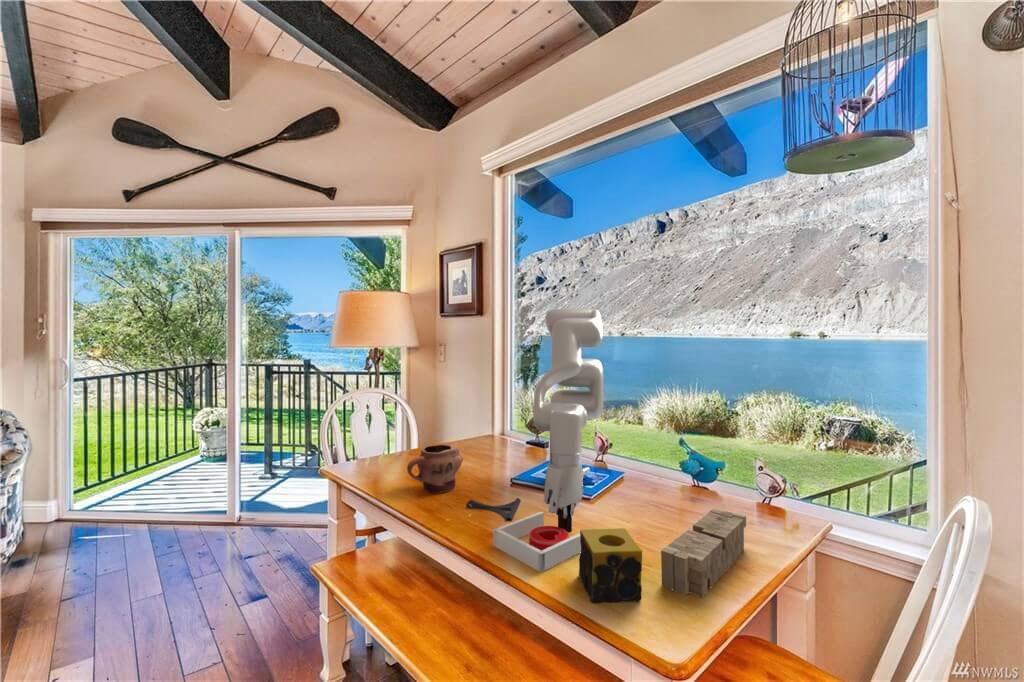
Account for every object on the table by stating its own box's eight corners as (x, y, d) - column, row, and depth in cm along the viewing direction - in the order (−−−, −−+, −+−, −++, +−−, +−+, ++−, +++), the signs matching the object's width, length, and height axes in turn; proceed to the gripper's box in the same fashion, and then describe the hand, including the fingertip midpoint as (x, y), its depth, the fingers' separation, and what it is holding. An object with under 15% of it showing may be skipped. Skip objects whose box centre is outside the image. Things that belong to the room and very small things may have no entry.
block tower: (699, 607, 85) (747, 548, 106) (699, 563, 85) (747, 513, 106) (660, 590, 91) (713, 538, 112) (659, 549, 90) (713, 504, 111)
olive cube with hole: (578, 575, 94) (578, 528, 94) (624, 573, 95) (625, 526, 95) (590, 605, 84) (590, 552, 84) (642, 602, 85) (643, 550, 85)
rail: (540, 526, 118) (540, 511, 118) (589, 548, 106) (589, 531, 106) (493, 546, 108) (493, 529, 107) (541, 572, 96) (541, 554, 95)
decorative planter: (420, 503, 134) (420, 457, 134) (398, 493, 142) (398, 450, 142) (471, 487, 149) (471, 445, 148) (448, 478, 157) (448, 439, 157)
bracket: (473, 500, 139) (473, 491, 139) (520, 503, 136) (520, 494, 136) (459, 519, 124) (459, 510, 124) (512, 523, 122) (511, 513, 122)
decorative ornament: (528, 537, 112) (528, 525, 112) (567, 537, 112) (567, 525, 112) (529, 556, 103) (529, 543, 103) (571, 557, 102) (571, 543, 102)
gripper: (572, 450, 120) (572, 518, 120) (532, 461, 110) (533, 535, 110) (595, 456, 114) (595, 527, 115) (555, 468, 104) (555, 546, 105)
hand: (564, 531), depth 112 cm, fingers closed
